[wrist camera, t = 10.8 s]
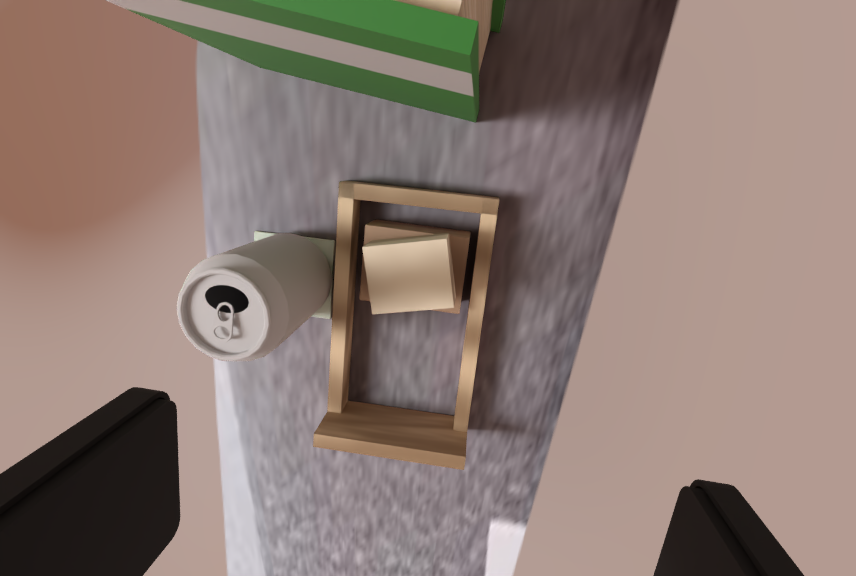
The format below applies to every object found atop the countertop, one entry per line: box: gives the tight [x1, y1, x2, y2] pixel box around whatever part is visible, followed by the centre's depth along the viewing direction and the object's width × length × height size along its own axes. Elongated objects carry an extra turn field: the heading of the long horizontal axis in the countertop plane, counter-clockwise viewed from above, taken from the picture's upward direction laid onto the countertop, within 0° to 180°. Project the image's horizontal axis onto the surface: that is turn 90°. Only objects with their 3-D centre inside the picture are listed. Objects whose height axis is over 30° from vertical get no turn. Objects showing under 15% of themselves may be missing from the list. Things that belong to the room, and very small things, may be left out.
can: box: [177, 233, 332, 361], centre depth 36 cm, size 8×8×12 cm
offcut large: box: [359, 219, 470, 314], centre depth 39 cm, size 6×8×4 cm
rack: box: [313, 181, 499, 470], centre depth 39 cm, size 21×12×6 cm, turn 174°
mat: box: [254, 231, 335, 319], centre depth 42 cm, size 7×7×1 cm
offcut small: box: [362, 233, 456, 314], centre depth 35 cm, size 5×6×3 cm
